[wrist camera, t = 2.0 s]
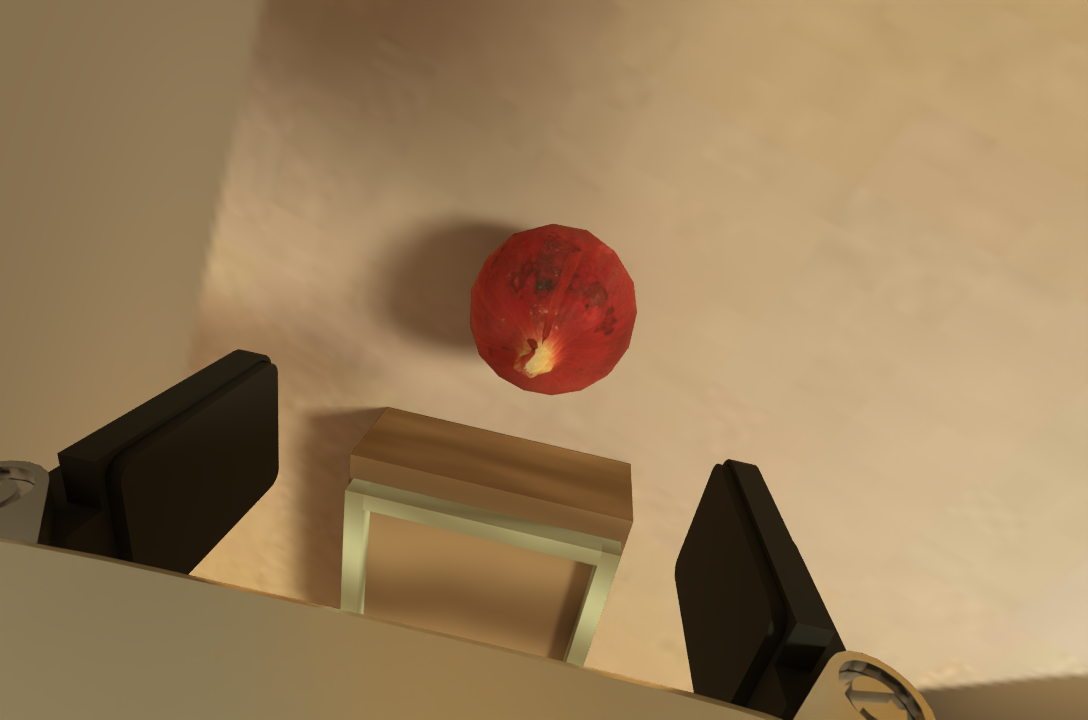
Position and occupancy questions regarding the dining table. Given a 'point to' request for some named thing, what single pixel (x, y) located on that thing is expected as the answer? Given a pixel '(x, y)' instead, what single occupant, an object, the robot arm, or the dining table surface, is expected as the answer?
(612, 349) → the onion
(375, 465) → the plinth
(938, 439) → the dining table surface
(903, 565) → the dining table surface
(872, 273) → the dining table surface
